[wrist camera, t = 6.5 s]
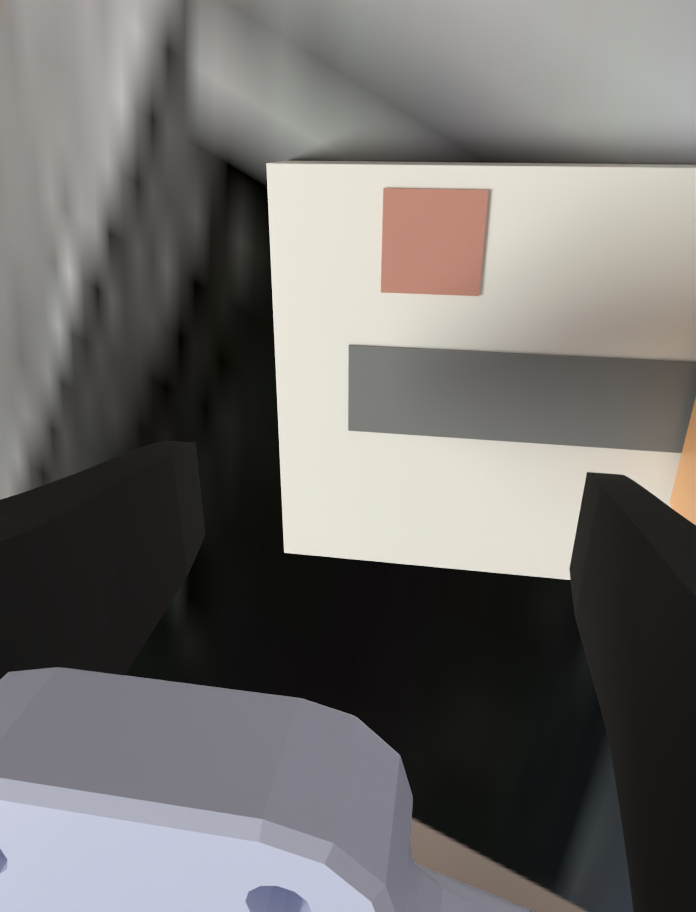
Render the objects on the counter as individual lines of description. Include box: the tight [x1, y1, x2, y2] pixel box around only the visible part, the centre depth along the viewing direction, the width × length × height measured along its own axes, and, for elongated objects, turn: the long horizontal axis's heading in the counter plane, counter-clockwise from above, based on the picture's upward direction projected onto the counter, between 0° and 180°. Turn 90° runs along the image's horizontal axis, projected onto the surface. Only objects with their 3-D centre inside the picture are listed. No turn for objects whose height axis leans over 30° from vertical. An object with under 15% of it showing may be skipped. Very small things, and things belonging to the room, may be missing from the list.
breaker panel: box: [266, 161, 696, 580], centre depth 18 cm, size 11×16×2 cm
